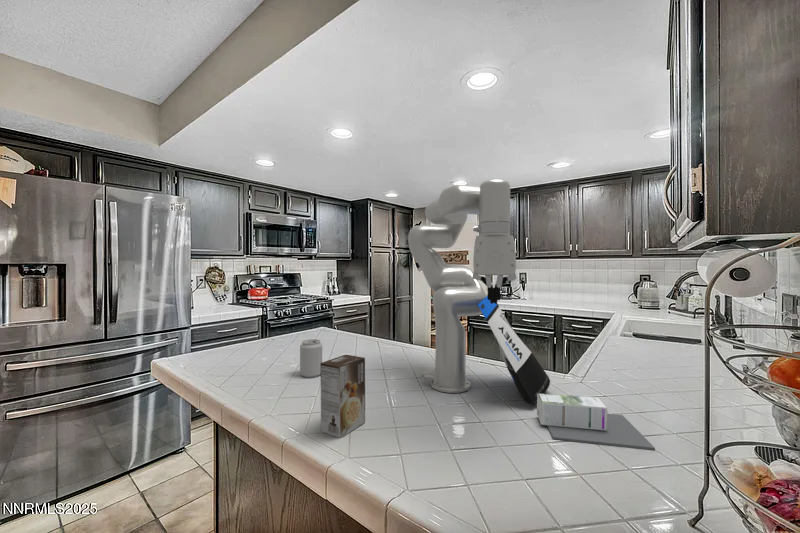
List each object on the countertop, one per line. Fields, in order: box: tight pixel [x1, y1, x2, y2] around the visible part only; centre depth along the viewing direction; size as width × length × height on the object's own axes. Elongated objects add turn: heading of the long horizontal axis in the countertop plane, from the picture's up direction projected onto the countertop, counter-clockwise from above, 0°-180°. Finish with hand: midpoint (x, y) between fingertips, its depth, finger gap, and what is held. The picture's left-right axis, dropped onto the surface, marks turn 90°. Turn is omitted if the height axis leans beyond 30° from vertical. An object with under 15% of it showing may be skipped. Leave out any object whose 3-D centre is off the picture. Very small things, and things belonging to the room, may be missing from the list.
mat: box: [546, 413, 656, 451], centre depth 81 cm, size 20×16×1 cm
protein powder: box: [478, 295, 551, 406], centre depth 104 cm, size 10×24×30 cm, turn 154°
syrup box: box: [536, 393, 609, 431], centre depth 82 cm, size 6×6×14 cm
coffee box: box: [320, 354, 366, 439], centre depth 81 cm, size 9×6×16 cm
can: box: [299, 338, 323, 379], centre depth 118 cm, size 8×8×12 cm
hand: (493, 303), depth 86 cm, fingers closed
